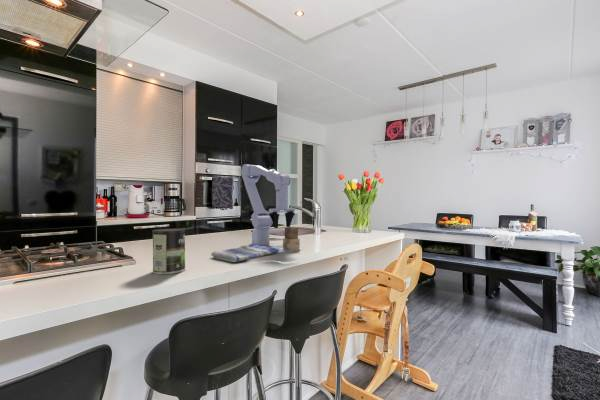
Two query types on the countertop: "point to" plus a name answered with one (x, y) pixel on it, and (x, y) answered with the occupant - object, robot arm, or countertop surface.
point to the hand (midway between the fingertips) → (282, 227)
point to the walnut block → (291, 233)
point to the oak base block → (291, 244)
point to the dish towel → (243, 253)
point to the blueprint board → (282, 249)
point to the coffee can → (168, 250)
